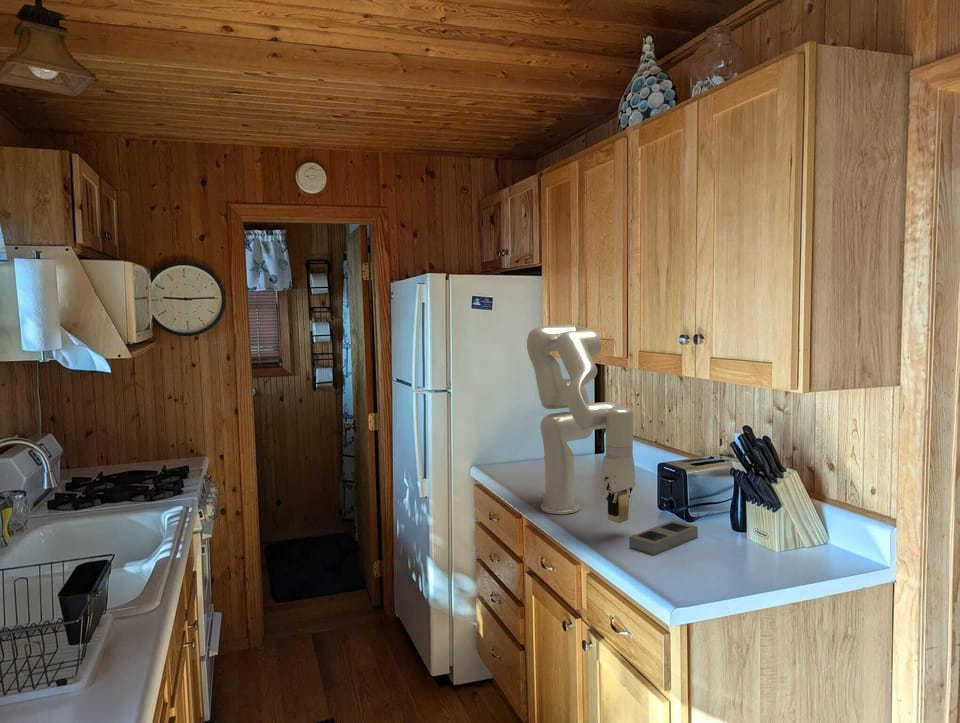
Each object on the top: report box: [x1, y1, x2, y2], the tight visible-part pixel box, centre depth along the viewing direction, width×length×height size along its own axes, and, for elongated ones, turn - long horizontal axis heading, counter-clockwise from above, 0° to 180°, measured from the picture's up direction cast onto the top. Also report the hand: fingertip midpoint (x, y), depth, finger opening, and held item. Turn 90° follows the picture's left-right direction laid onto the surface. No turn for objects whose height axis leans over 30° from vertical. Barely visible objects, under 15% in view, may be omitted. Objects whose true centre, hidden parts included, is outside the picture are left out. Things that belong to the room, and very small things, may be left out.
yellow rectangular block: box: [607, 491, 629, 524], centre depth 194 cm, size 4×4×8 cm
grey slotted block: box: [628, 519, 699, 556], centre depth 188 cm, size 8×20×3 cm, turn 129°
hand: (618, 512), depth 194 cm, fingers closed on yellow rectangular block, 4 cm apart
